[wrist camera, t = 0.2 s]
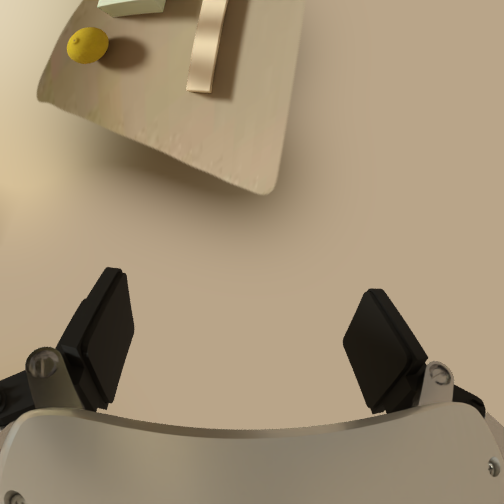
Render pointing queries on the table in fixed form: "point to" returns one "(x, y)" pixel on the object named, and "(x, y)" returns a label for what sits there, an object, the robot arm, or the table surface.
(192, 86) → the beige wavy bar
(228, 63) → the table surface
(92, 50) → the lemon
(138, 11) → the block
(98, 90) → the table surface
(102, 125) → the table surface
